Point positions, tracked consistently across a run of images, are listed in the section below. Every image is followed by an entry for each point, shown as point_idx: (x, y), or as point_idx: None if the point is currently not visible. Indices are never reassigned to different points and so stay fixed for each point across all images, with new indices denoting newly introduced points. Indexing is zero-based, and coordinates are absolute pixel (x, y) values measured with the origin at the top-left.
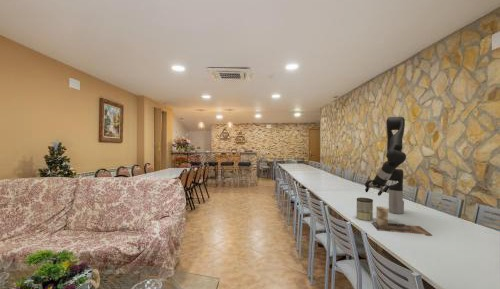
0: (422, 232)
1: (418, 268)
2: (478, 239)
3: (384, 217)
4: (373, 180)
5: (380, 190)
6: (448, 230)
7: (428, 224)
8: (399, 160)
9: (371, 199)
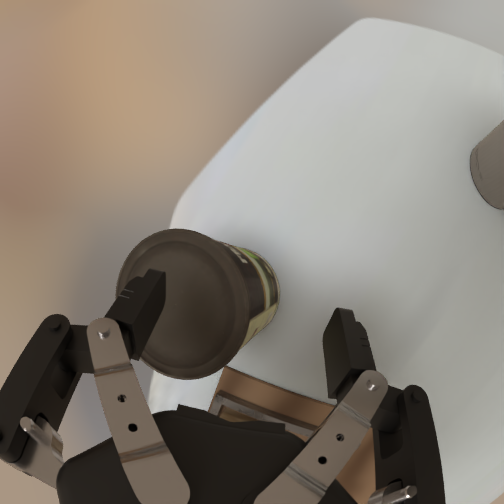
0: (366, 492)
1: None
2: (474, 501)
3: None
4: (71, 500)
5: (348, 377)
6: (490, 447)
7: (498, 386)
8: None
9: (232, 331)
